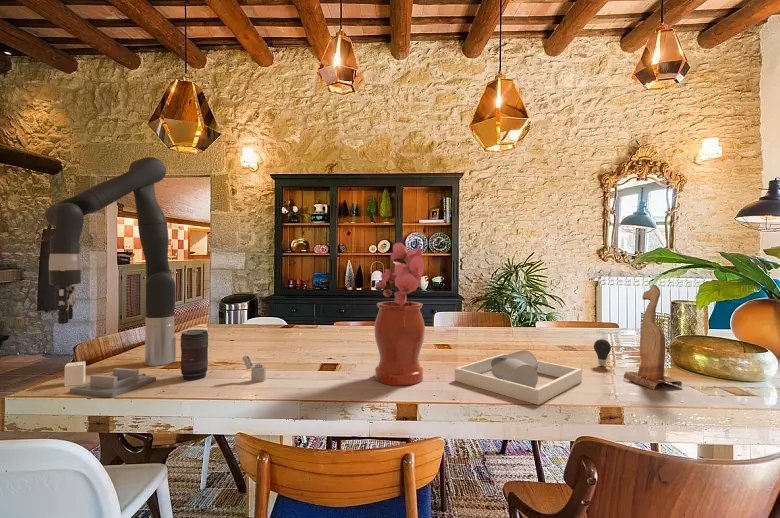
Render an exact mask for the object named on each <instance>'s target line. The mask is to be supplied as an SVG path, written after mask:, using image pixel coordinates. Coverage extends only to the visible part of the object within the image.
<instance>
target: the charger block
mask: <svg viewBox="0 0 780 518" xmlns="http://www.w3.org/2000/svg"><path fill="white" fill-rule="evenodd" d="M86 364H87V363H86V361H84V360H83V361H76V362H66V364H65V366H64V387H70V386H71V387H72V386H80V385H83V384H85V382H86V369H87V368H86Z"/></svg>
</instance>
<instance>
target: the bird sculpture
mask: <svg viewBox="0 0 780 518" xmlns="http://www.w3.org/2000/svg"><path fill="white" fill-rule="evenodd" d="M660 297H661V289H660V287H659V286H658V285H656V284H652V285H651V287H650V289H648V290H646V291H644V292H643V294H642V299H641V300H645V301H647V300H648V301H649V303H648V305H647V306H646V309H645V312H644V315H643V319H642V323H641V327H640V337H639V338H640V340H639V341H640V342H639V358H640V360H641V363H640V366H639V368H638V370H637V371H626V372H624V374H623V379H626V380H627V381H630V382H632V383H635V384H638V385H640V386H642V387H646V388H648V389H650V390H655V388H656V387H657V385H658V384H662V383H668V384H671V385H674V386H677V387H682V385H683V382H682V381H680V380H678V379H675V378H671V377H668V376H665V360H666V336H665V334H664V332H663V329H662V328H661V327H660V326H659V325H658V324H657V323H656V311H657V307H658V302H659V299H660Z"/></svg>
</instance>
